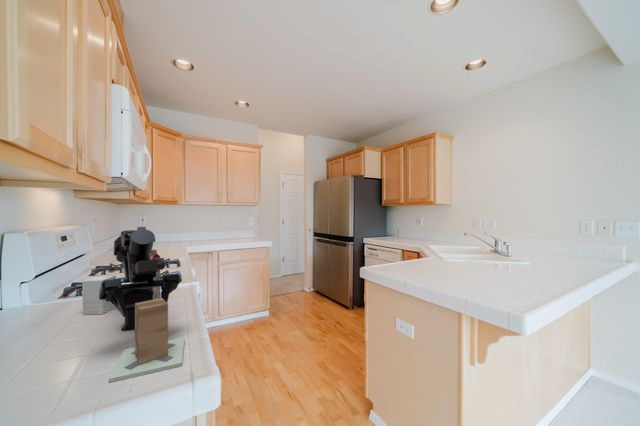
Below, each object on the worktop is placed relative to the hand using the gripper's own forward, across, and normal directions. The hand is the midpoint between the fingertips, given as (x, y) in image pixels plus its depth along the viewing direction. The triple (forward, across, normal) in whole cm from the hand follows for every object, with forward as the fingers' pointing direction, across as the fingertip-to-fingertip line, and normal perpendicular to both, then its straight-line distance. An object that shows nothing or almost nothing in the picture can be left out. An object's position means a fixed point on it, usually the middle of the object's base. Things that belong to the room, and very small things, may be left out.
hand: (145, 312), depth 70 cm
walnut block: (+11, 0, +1) cm, 11 cm away
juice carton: (-23, +11, +38) cm, 46 cm away
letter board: (+12, 0, +2) cm, 12 cm away
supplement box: (-24, -4, +41) cm, 48 cm away
